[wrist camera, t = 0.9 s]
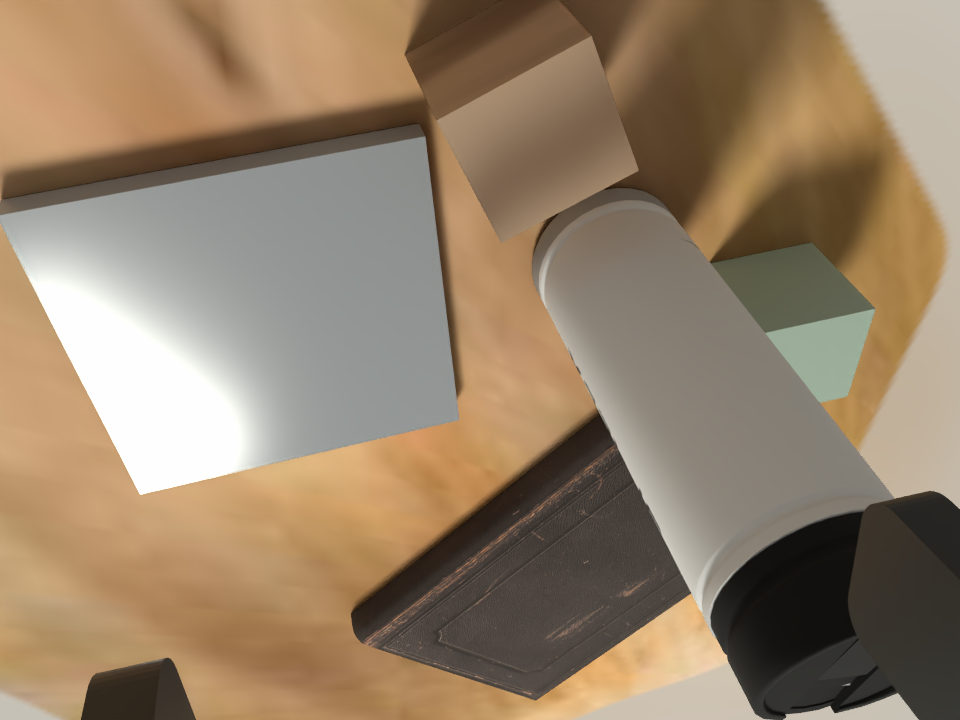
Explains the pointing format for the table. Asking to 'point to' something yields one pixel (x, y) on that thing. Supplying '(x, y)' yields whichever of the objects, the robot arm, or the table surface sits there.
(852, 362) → the sage block
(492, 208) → the walnut block
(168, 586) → the table surface
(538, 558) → the hardcover book
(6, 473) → the table surface
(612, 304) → the travel mug
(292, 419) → the slate board
